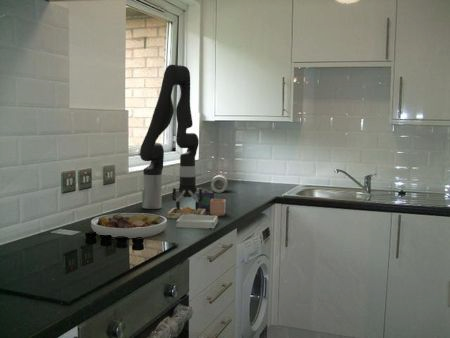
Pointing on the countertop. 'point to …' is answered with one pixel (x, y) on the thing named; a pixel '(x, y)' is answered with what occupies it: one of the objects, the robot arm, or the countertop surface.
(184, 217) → the tray
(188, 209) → the ball
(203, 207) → the flask
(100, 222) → the bowl
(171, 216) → the corral
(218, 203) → the cup
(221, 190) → the toilet paper
